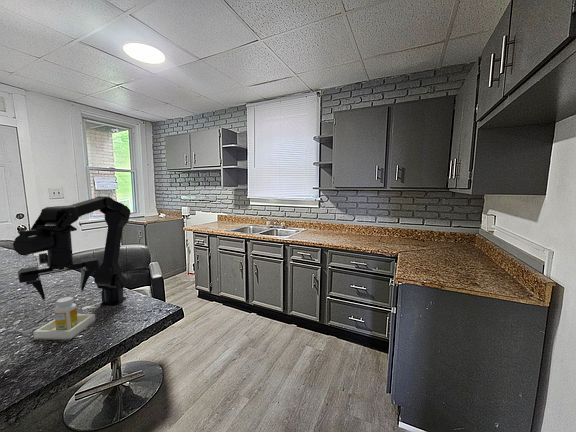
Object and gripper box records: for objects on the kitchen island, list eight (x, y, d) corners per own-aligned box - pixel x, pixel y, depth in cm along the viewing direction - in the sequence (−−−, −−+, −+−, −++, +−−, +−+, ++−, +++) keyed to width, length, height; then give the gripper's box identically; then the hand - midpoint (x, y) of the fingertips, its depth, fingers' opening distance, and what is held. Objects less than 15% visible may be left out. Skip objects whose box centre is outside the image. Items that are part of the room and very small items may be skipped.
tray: (95, 320, 87) (94, 314, 87) (70, 339, 77) (69, 331, 76) (64, 320, 87) (63, 314, 86) (34, 339, 76) (33, 331, 76)
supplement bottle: (75, 321, 86) (73, 294, 84) (79, 327, 82) (77, 299, 81) (54, 328, 81) (51, 299, 80) (57, 334, 78) (55, 304, 77)
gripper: (90, 239, 91) (92, 280, 93) (14, 247, 77) (19, 296, 78) (98, 244, 84) (101, 288, 85) (16, 254, 70) (22, 308, 71)
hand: (63, 294), depth 80 cm, fingers open, 9 cm apart
